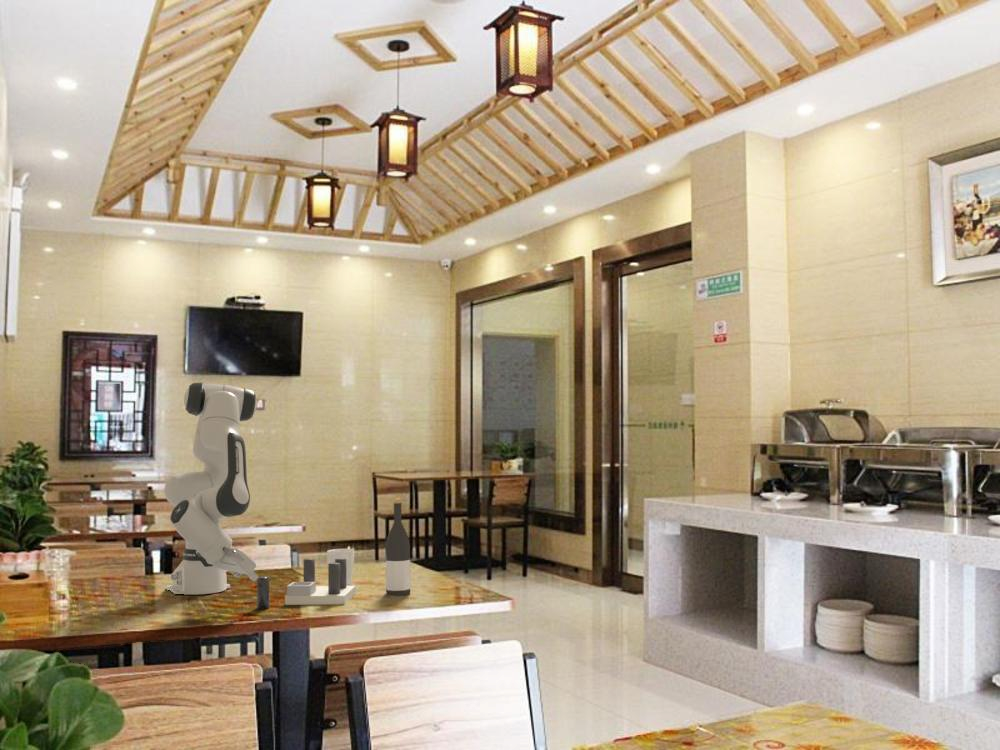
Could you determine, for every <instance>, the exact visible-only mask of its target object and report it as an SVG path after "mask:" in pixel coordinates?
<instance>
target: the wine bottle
mask: <svg viewBox="0 0 1000 750" xmlns="http://www.w3.org/2000/svg"><path fill="white" fill-rule="evenodd" d="M401 500H402V499H401V497H399V498H397V497H396V498H394V503H393V523H392V526H391V528H390V530H389V532H388V536H387V538H386V543H385V592H386V595H387V596H405V595H407V596H408V595H409V594H411V544H410V539H409V536H408V533H407V531H406V528H405V527H404V525H403V522H402V505H403V504H402V502H401Z"/></svg>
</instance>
